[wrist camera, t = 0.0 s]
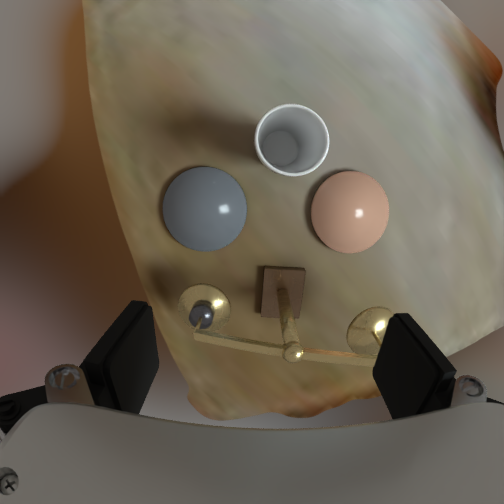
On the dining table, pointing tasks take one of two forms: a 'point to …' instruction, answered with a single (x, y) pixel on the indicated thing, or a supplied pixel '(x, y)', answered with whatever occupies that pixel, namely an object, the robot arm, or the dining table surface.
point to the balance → (281, 320)
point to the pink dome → (349, 211)
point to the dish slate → (204, 208)
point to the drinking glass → (291, 140)
